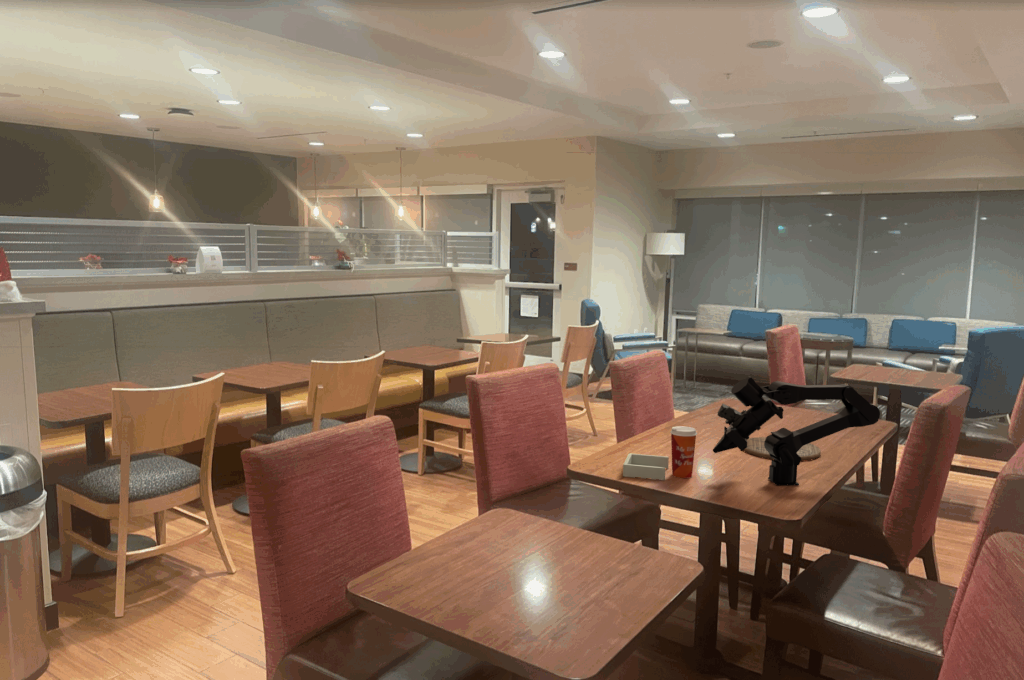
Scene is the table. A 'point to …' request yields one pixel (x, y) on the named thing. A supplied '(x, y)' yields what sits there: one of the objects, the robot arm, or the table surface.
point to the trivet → (758, 449)
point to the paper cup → (683, 451)
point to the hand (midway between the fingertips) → (713, 451)
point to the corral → (645, 466)
